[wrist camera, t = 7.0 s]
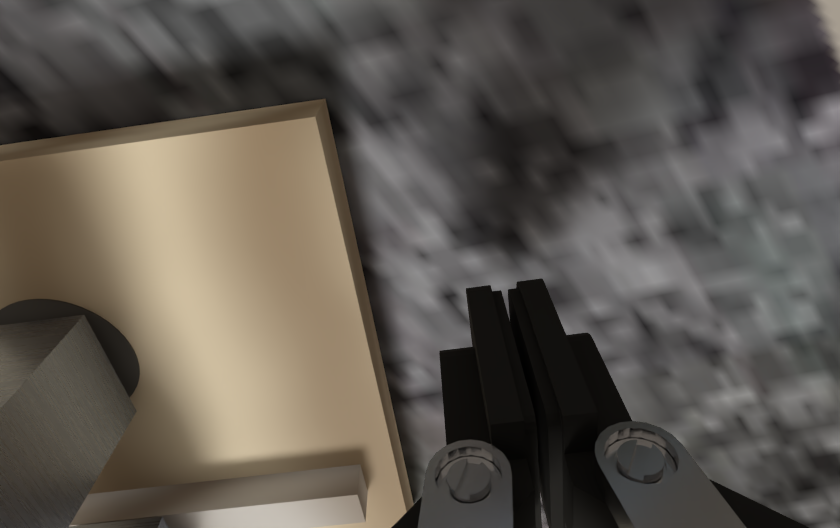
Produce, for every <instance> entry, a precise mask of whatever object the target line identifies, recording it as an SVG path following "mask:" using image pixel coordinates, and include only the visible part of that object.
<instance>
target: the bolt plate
mask: <svg viewBox="0 0 840 528" xmlns="http://www.w3.org/2000/svg"><path fill="white" fill-rule="evenodd" d="M78 315H85V317H86V319H87V321H88V322H89V324H90V326H91V328H92V330H93V332H94V333H95V335H96V337H97V339H98V341H99V343H100V344H101V346H102V348H103V350H104V352H105V354H106V355H107V357H108V359H109V361H110V363H111V365H112V367H113V368H114V370H115V372H116V374H117V376H118V378H119V379H120V381H121V383H122V385H123V387H124V389H125V390H126V392H127V394H128V396H129V398H130V400H131V401H132V403H133V405H134V407H135V409H136V411H137V412H136V414H135V415H134V417H133V419H132V420H131V422H130V424H129V425H128V427H127V429H126V431H125V432H124V434H123V436H122V437H121V439H120V441H119V442H118V444H117V446H116V448H115V449H114V451H113V453H112V454H111V456H110V458H109V459H108V461H107V463H106V465H105V466H104V468H103V470H102V471H101V473H100V475H99V476H98V478H97V480H96V482H95V483H94V485H93V487H92V488H91V490H90V492H89V493H88V495H87V497H86V499H85V500H84V502H83V504H82V505H81V507H80V509H79V510H78V512H77V514H76V516H75V517H74V519H73V521H72V522H71V524H70V526H79V525H89V524H98V523H107V522H117V521H126V520H135V519H145V518H154V517H163V519H164V520H165V522H166V524H167V525H168V527H169V528H391V527H392V526H393V525H394V524H395V523H396V522H397V521H398V520H399V519H400V518H401V517H402V516H403V515H404V514H405V513H406V512H407V511H408V510H409V509H410V508H411V507H412V506H413V505H414V503H413V499H412V494H411V489H410V485H409V480H408V476H407V471H406V466H405V462H404V457H403V453H402V448H401V443H400V439H399V434H398V430H397V425H396V421H395V416H394V411H393V407H392V402H391V398H390V393H389V388H388V384H387V379H386V375H385V370H384V365H383V361H382V356H381V352H380V347H379V343H378V338H377V333H376V329H375V324H374V320H373V315H372V310H371V306H370V301H369V297H368V292H367V287H366V283H365V278H364V274H363V269H362V264H361V260H360V255H359V251H358V246H357V242H356V237H355V232H354V228H353V223H352V219H351V214H350V209H349V205H348V200H347V196H346V191H345V186H344V182H343V177H342V173H341V168H340V164H339V159H338V154H337V150H336V145H335V141H334V136H333V131H332V127H331V122H330V118H329V113H328V108H327V104H326V99H320V100H313V101H306V102H299V103H292V104H285V105H278V106H271V107H264V108H257V109H250V110H243V111H236V112H229V113H222V114H215V115H208V116H201V117H194V118H187V119H180V120H173V121H166V122H159V123H152V124H145V125H138V126H131V127H124V128H117V129H110V130H103V131H96V132H89V133H82V134H75V135H68V136H61V137H54V138H47V139H40V140H33V141H26V142H19V143H12V144H5V145H0V325H7V324H15V323H23V322H30V321H38V320H46V319H54V318H62V317H70V316H78ZM70 526H69V527H70Z"/></svg>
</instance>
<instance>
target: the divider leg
mask: <svg viewBox="0 0 840 528" xmlns="http://www.w3.org/2000/svg"><path fill="white" fill-rule="evenodd" d="M136 412H137V411H136V409H135V407H134V405H133V403H132V401H131V400H130V398H129V396H128V394H127V392H126V390H125V389H124V387H123V385H122V383H121V381H120V379H119V378H118V376H117V374H116V372H115V370H114V368H113V367H112V365H111V363H110V361H109V359H108V357H107V355H106V354H105V352H104V350H103V348H102V346H101V344H100V343H99V341H98V339H97V337H96V335H95V333H94V332H93V330H92V328H91V326H90V324H89V322H88V321H87V319H86V317H85V315H78V316H70V317H62V318H54V319H46V320H38V321H30V322H23V323H15V324H7V325H0V528H169V527H168V525H167V524H166V522H165V520H164V519H163V517H154V518H145V519H135V520H126V521H117V522H107V523H98V524H89V525H79V526H70V524H71V522H72V521H73V519H74V517H75V516H76V514H77V512H78V510H79V509H80V507H81V505H82V504H83V502H84V500H85V499H86V497H87V495H88V493H89V492H90V490H91V488H92V487H93V485H94V483H95V482H96V480H97V478H98V476H99V475H100V473H101V471H102V470H103V468H104V466H105V465H106V463H107V461H108V459H109V458H110V456H111V454H112V453H113V451H114V449H115V448H116V446H117V444H118V442H119V441H120V439H121V437H122V436H123V434H124V432H125V431H126V429H127V427H128V425H129V424H130V422H131V420H132V419H133V417H134V415H135V414H136ZM69 526H70V527H69Z"/></svg>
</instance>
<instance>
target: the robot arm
mask: <svg viewBox="0 0 840 528" xmlns="http://www.w3.org/2000/svg"><path fill="white" fill-rule="evenodd" d="M466 294H467V303H468V311H469V320H470V328H471V337H472V345H473V347H468V348H460V349H451V350H443V351H440V366H441V379H442V392H443V404H444V417H445V430H446V443H447V445H446V446H445V447H443V448H442V449H441V450H439V451H438V452H437V453H436V454H435V455H434V456H433V458H432V459H431V460H430V462H429V464H428V467H427V470H426V473H425V480H424V487H423V494H422V497H421V498H420V499H419V500H418V501H417V502H416V503H415V504H414V505H413V506H412V507H411V508H410V509H409V510H408V511H407V512H406V513H405V514H404V515H403V516H402V517H401V518H400V519H399V520H398V521H397V522H396V523H395V524H394V525H393V526H392V527H391V528H542V522H541V502H540V493H541V497H542V501H543V506H544V510H545V514H546V518H547V522H548V526H549V528H809V527H806V526H804V525H802V524H800V523H798V522H796V521H794V520H792V519H790V518H788V517H786V516H784V515H782V514H780V513H778V512H776V511H774V510H772V509H769V508H767V507H765V506H763V505H761V504H759V503H757V502H755V501H753V500H751V499H749V498H747V497H745V496H743V495H741V494H739V493H737V492H735V491H732V490H730V489H728V488H726V487H724V486H722V485H720V484H718V483H716V482H714V481H712V480H710V479H708V477H707V476H706V475H705V473H704V472H703V471H702V469H701V468H700V467H699V466H698V464H697V463H696V462H695V460H694V459H693V458H692V456H691V455H690V454H689V453H688V451H687V450H686V449H685V447H684V446H683V445H682V444H681V443H680V442H679V441H678V440H677V439H676V438H675V437H674V436H673V435H672V434H670V433H669V432H667V431H665V430H664V429H662V428H660V427H657V426H655V425H652V424H649V423H644V422H636V421H632V420H631V418H630V416H629V413H628V411H627V409H626V407H625V405H624V403H623V401H622V399H621V397H620V395H619V393H618V391H617V389H616V386H615V384H614V382H613V380H612V378H611V376H610V374H609V372H608V370H607V368H606V366H605V364H604V361H603V359H602V357H601V355H600V353H599V351H598V349H597V347H596V345H595V343H594V341H593V339H592V337H591V335H590V334H589V333H581V334H573V335H566V334H565V331H564V329H563V327H562V324H561V322H560V319H559V317H558V314H557V312H556V310H555V307H554V305H553V302H552V300H551V298H550V295H549V293H548V290H547V288H546V286H545V283H544V281H543V279H535V280H527V281H520V282H517V288H516V289H509V290H508V300H509V313H510V321H509V318H508V314H507V310H506V307H505V303H504V299H503V296H502V292H501V291H493V292H492V289H491V286H490V285H489V286H481V287H473V288H466Z"/></svg>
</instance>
